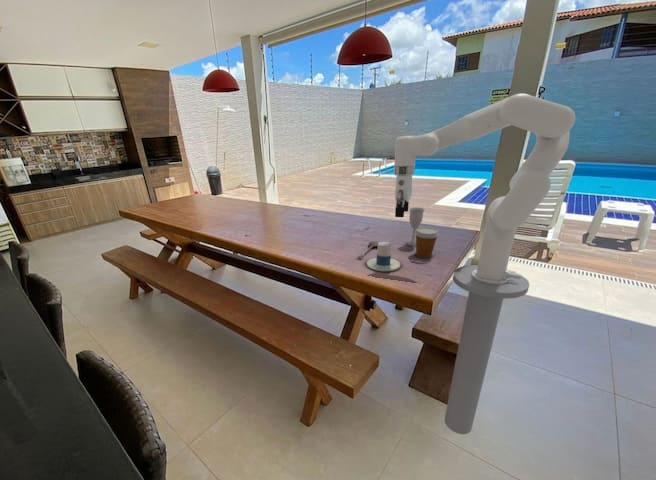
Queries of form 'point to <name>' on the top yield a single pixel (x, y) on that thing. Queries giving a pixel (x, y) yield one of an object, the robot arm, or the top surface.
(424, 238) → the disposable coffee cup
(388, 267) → the saucer
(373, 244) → the soupspoon
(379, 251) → the cylinder
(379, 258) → the cylinder
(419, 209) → the chalice
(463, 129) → the robot arm
